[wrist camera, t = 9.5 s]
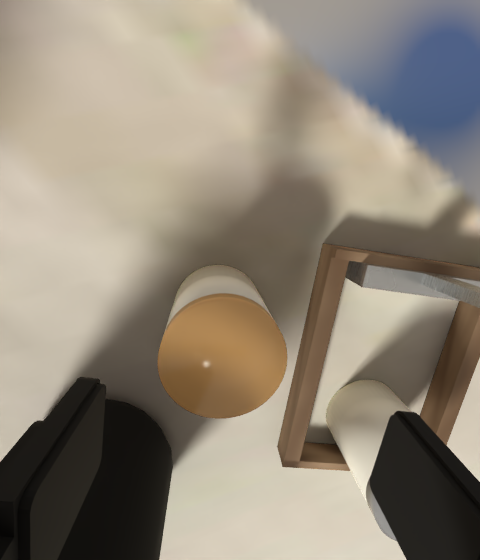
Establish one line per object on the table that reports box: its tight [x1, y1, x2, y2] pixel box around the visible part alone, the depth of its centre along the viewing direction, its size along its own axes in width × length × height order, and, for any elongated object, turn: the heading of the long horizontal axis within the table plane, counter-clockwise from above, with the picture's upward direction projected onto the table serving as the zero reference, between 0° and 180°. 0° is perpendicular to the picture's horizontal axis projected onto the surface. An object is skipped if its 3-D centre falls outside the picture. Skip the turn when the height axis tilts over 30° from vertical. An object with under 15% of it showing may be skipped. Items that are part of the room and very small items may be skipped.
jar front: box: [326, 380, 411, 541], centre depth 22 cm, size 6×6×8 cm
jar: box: [158, 265, 287, 418], centre depth 18 cm, size 6×6×8 cm
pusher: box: [345, 261, 480, 308], centre depth 16 cm, size 9×1×12 cm, turn 81°
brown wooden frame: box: [277, 244, 480, 471], centre depth 23 cm, size 13×17×2 cm
